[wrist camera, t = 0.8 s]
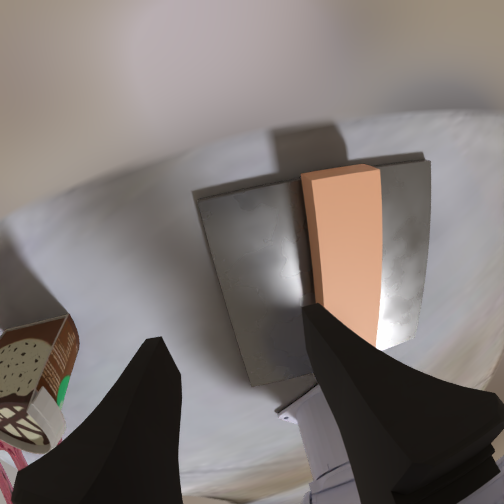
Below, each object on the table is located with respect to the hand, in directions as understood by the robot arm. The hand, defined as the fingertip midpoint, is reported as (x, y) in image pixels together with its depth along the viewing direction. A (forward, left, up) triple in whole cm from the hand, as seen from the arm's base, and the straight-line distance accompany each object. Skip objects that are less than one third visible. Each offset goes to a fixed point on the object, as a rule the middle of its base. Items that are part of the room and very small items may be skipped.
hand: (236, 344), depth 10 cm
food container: (+6, +18, -10) cm, 21 cm away
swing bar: (-8, -2, -8) cm, 12 cm away
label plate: (-9, -2, -9) cm, 13 cm away
